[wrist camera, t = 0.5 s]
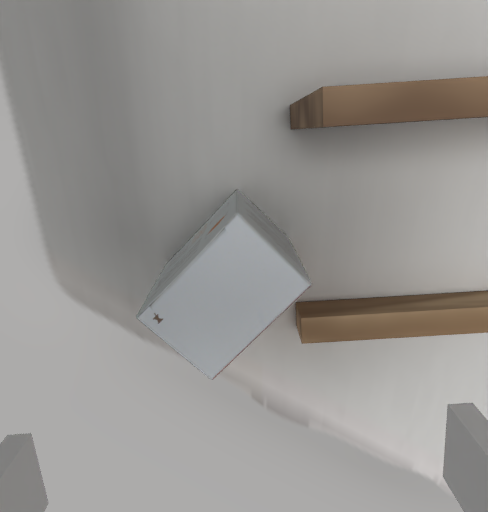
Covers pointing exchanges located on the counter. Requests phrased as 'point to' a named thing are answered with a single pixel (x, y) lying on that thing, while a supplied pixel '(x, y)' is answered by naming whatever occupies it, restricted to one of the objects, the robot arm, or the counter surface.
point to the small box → (224, 286)
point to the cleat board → (397, 307)
